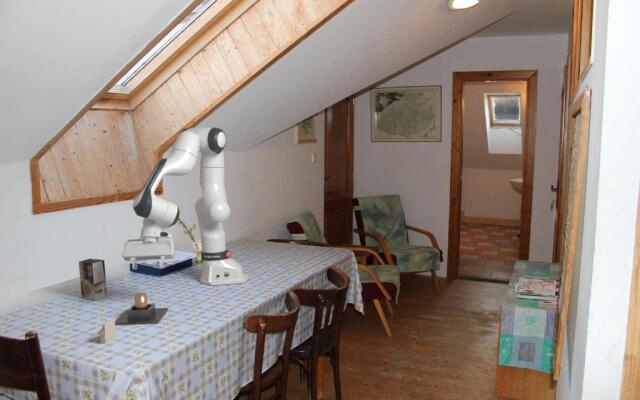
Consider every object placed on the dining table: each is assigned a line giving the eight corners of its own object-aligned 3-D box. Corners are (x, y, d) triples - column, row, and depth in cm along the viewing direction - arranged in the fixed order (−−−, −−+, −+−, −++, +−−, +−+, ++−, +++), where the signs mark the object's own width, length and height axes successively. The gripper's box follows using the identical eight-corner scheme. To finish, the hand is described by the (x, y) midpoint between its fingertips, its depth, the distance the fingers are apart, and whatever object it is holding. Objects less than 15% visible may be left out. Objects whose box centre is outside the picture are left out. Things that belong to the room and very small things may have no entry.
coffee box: (107, 297, 239) (105, 259, 238) (95, 301, 234) (92, 263, 232) (93, 294, 244) (91, 257, 242) (80, 298, 239) (78, 261, 237)
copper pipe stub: (149, 313, 213) (147, 292, 212) (146, 316, 209) (144, 295, 208) (137, 313, 213) (136, 293, 212) (134, 317, 209) (132, 296, 208)
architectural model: (96, 344, 186) (94, 322, 185) (109, 337, 193) (107, 316, 192) (105, 345, 185) (103, 323, 184) (118, 337, 192) (116, 316, 191)
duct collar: (168, 309, 219) (167, 300, 219) (158, 323, 203) (157, 313, 203) (126, 311, 219) (126, 301, 218) (113, 325, 203) (112, 315, 203)
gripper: (123, 235, 225) (117, 265, 216) (174, 233, 225) (171, 262, 217) (127, 244, 230) (122, 273, 221) (178, 241, 230) (174, 271, 222)
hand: (146, 268), depth 219 cm, fingers open, 8 cm apart
